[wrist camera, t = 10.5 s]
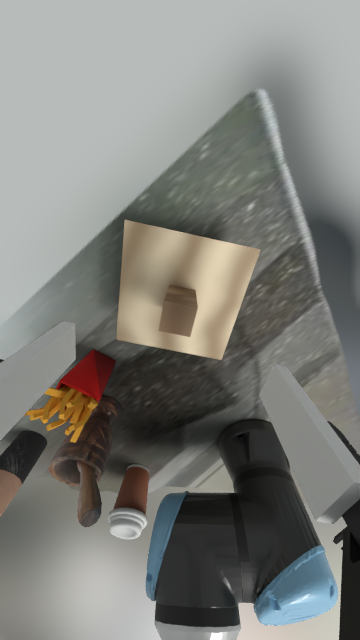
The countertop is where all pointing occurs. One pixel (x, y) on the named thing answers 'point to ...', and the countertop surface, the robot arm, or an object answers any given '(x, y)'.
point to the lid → (180, 289)
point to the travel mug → (18, 464)
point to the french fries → (77, 394)
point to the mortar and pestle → (87, 459)
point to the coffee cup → (130, 504)
